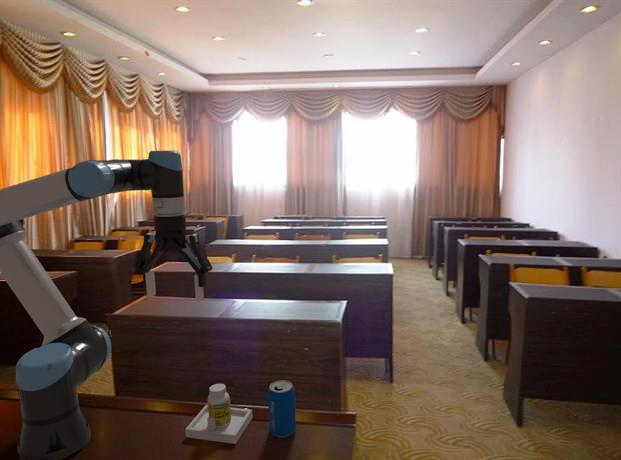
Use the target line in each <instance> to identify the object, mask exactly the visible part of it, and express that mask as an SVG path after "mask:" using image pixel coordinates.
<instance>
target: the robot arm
mask: <svg viewBox="0 0 621 460" xmlns="http://www.w3.org/2000/svg"><path fill="white" fill-rule="evenodd" d="M183 171H184V168H183V164H182V156H181V153H180V152H179V151H178V150H150V151H149V152H148V158H145V159H144V158H143V159H118V158H117V159H105V160H104V159H103V160H99V159H88V160H83V161H79V162H78V163H76V164H74V165H73V166H72V167H68V168H65V169H62V170H58V171H55V172H53V173H52V172H51V173H49V174H46V175H43V176H39V177H36V178H32V179H29V180H26V181H23V182H22V181H21V182H19V183H16V184H13V185H10V186H6V187H3V188H0V275H1V276H2V278H3V279H4V280H5V282H6V283H7V285H8V286H9V288H10V289H11V290H12V292H13V293H14V295H15V296H16V297H17V299H18V300H19V302H20V304H21V305H22V307H23V308H24V309H25V311H26V312H27V314H28V315H29V317H30V318H31V319H32V321H33V322H34V323H35V325H36V327H37V328H38V329H39V330H40V332H41V334H42V335H43V341H42V345H41V346H40V347H35V348H33V349H31V350H29V351H28V352H26V353H24V354H23V356H21V357H20V358H19V360H17V363H16V365H15V383H16V386H17V388H16V389H17V392H18V400H19V406H20V412H21V418H22V427H21V432H20V437H19V439H20V440H19V441H18V444H17V454H19V456H20V457H21V458H23V459H26V460H54V459H59V458H62V457H65V456H68V455H70V454H73V453H75V452H77V451H79V450H80V449H81V450H83V449H84V448H85V447H86V446H87V445H88V443H89V441H90V439H91V435H92V434H91V428H90V425H89V423H88V421H87V420H86V417H85V415H84V413H83V412H82V410H81V408H80V404H79V396H78V388H79V387H80V386H82V384H84V383H85V382H86V381H87V380H89V378H91V377H92V376H93V374H96V373H97V372H98V371H100V370H101V369H102V367H104V365H105V364H106V363H107V361H108V360H109V358H110V356H111V352H112V342H111V338H110V336H109V334H108V333H107V332H106V331H105V330H104V329H103V328H101V327H98V326H96V325H91V324H90V323H89V321H88V320H87V318H85V317H81V316H80V317H79V316H77V315H76V314H75V312H74V311H73V309H72V308H71V306H70V305H69V303H68V302H67V301H66V299H65V297H64V296H63V294H62V293H61V291H60V290H59V289H58V287H57V285H56V284H55V283H54V280H53V279H52V278H51V276H49V274H48V272H47V270H46V269H45V268H44V266H43V265H42V263H41V262H40V261H39V259H38V257H37V256H36V254H35V253H34V252H33V250H32V249H31V247H30V246H29V245H28V243H27V241H26V237H27V234H28V232H27V230H26V228H25V227H24V226H25V224H26V221H25V219H28V218H30V217H31V218H32V217H33V216H34V217H35V216H37V215H41V214H43V213H48V212H51V211H54V210H57V209H61V208H64V207H68V206H70V205H74V204H77V203H81V202H84V201H90V200H92V199H95V198H98V197H102V196H106V195H111V194H117V193H123V192H130V191H131V192H132V191H133V192H135V191H150V192H151V201H152V203H151V204H152V212H153V213H152V214H154V216H153V228H154V231H155V233H153V232H152V231H151V232H148V233H144V235H143V243H142V245H141V248H140V252H139V254H138V257H137V260H136V262H135V265H134V269H135V270H139V271H141V272H142V278H143V284H145V286H146V298H147V299H150V298H153V297H154V296H156V295H157V293H156V278H155V276H156V275H155V269H153V266H154V265H155V264H156V262H157V261H158V260H159V258H160V257H161V255H162V254H163V253H169V252H170V253H177V252H178V254H180V255H181V256H182V257H183V258H184V260H185V261H186V262H187V263H188V264H189V265H190V267H191V268H192V270H194V271H195V273H196V274H194V276H193V279H194V293H195V296H194V297H195V301H196V302H200V301H201V300H202V299H204V298H205V296H204V295H205V294H204V288H205V286H206V285H207V279H206V273H209V272H211V271H212V270H213V266H212V263H211V261H210V260H209V258H208V256H207V254H206V252H205V250H204V248H203V246H202V245H201V242H200V237H199V234H198V233H193V234H187V232H186V231H187V230H186V229H187V219H186V215H185V214H184V213H186V206H185V205H186V204H185V203H186V202H185V192H184V172H183ZM154 242H155V243H157V245H156V246H155V248H154V249H153V251H152V253H151V254H150V252H151V250H152V248H153V244H154ZM187 243H189V245H190V247H191V248H190V247H189V245H188V244H187ZM191 249H192V251H193V252H192V251H191ZM81 450H80V451H81ZM80 451H79V452H80ZM77 453H78V452H77Z"/></svg>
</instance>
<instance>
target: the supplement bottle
mask: <svg viewBox="0 0 621 460" xmlns="http://www.w3.org/2000/svg"><path fill="white" fill-rule="evenodd" d="M208 390H209V391H208V392H209V395H208V397H207V405H208V412H209V416H214V417H215V425H216V428H223V427H226V426H227V425H228V424H229V423H230V422H231V413H230V407H231V399H230V400H229V398H230V395H229V393H228V392H227V386H226V385H225V384H224V383H215V384H213V385H211V386H209V389H208Z"/></svg>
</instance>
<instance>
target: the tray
mask: <svg viewBox="0 0 621 460" xmlns="http://www.w3.org/2000/svg"><path fill="white" fill-rule="evenodd" d="M229 400H230V401H231V397H229ZM230 413H231V422H230V423H229V424H228V425H227V426H226V427H223V428H216V425H215V417H214V416H209V412H208V404H205V405H204V407H203V408H202V409H201V410H200V412H198V414H196V416H195V417H194V418H193V420H192V421H191V422H190V423H189V424H188V426H186V428H185V438H189V439H197V440H203V441H210V442H211V441H213V442H220V443H227V444H232V445H233V444H234V445H236V444H237V443H238V441H239V440H240V439H241V437H242V435H243V434H244V432H245V430H246V429H247V427H248V426H249V424H250V423H251V421H252V419H253V409H248V408H247V409H245V408H239V407H231V406H230Z"/></svg>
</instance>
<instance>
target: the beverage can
mask: <svg viewBox="0 0 621 460" xmlns="http://www.w3.org/2000/svg"><path fill="white" fill-rule="evenodd" d="M295 392H296V389H295V387H294V386H293V382H291V381H289V380H284V379H282V380H281V379H280V380H279V379H278V380H275V381H273V382H272V383H270V385H269V388H268V390H267V402H268V404H267V405H268V422H269V423H268V424H269V425H268V426H269V431H270V433H271V434H272V435H273V436H275V437H277V438H286V437H289V436H291V435H292V434H294V433H295V431H296V429H297V419H296V418H297V416H296V413H297V412H296V393H295Z"/></svg>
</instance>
